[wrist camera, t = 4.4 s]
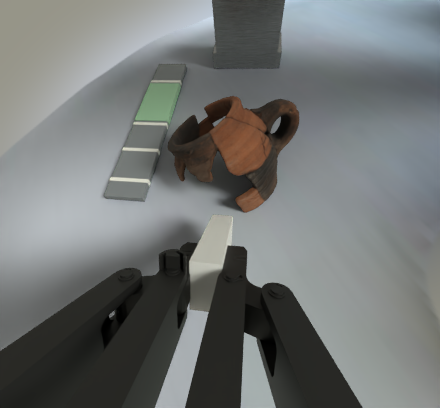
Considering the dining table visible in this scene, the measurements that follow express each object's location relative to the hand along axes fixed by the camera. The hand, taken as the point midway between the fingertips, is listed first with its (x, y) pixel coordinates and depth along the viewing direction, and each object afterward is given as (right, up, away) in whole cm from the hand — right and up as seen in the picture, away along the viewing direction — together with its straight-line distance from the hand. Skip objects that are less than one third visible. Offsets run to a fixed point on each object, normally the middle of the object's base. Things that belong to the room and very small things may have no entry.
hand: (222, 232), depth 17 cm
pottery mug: (+2, +6, +7) cm, 9 cm away
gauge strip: (-8, +12, +11) cm, 18 cm away
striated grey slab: (+4, +22, +15) cm, 27 cm away
